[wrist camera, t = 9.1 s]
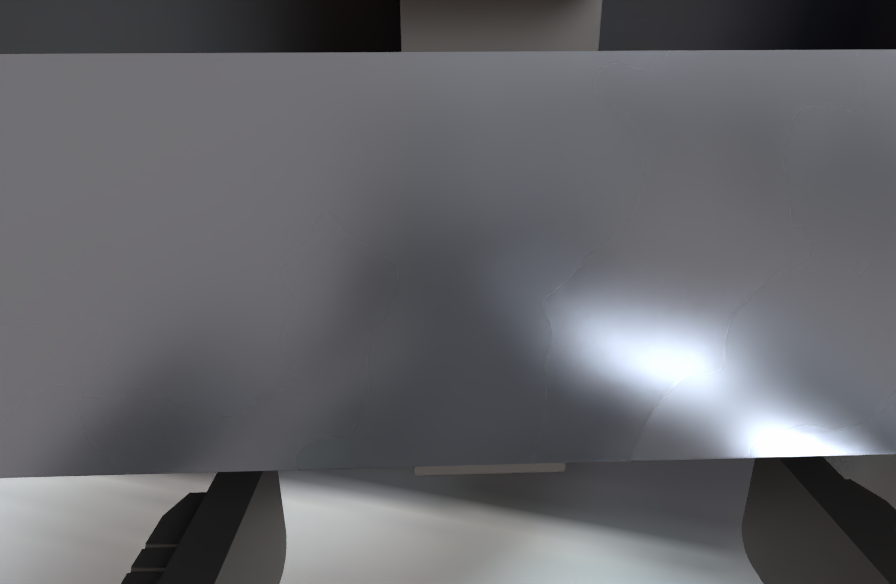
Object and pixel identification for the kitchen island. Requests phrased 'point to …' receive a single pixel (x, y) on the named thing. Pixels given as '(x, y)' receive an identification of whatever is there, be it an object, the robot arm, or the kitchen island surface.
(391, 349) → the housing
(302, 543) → the kitchen island surface
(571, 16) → the plug
